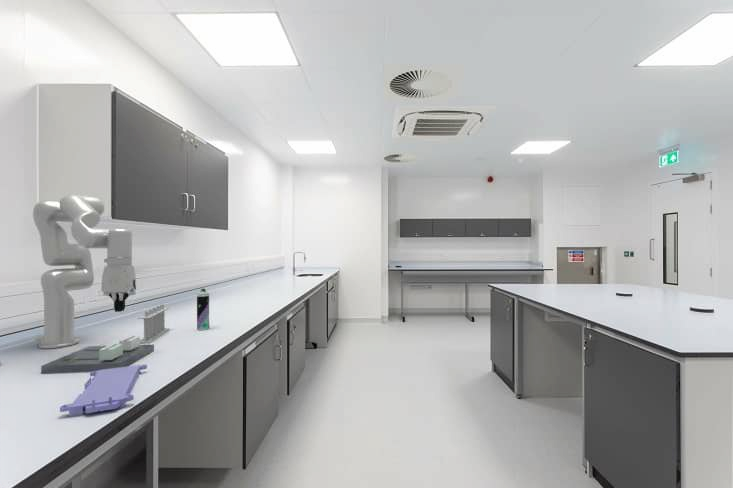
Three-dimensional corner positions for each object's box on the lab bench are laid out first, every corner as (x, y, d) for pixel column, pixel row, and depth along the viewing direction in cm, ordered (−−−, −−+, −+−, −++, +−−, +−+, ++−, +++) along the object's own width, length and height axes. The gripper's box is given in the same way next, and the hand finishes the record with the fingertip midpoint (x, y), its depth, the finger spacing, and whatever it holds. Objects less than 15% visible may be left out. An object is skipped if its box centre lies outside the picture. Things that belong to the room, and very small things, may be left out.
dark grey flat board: (41, 373, 114) (41, 365, 114) (88, 352, 135) (88, 346, 135) (120, 370, 116) (120, 362, 116) (154, 350, 138) (153, 344, 138)
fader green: (99, 360, 118) (99, 349, 118) (110, 354, 124) (110, 344, 124) (112, 359, 118) (112, 348, 118) (122, 354, 124) (122, 343, 124)
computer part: (55, 423, 82) (131, 410, 89) (55, 405, 82) (131, 393, 89) (91, 379, 109) (147, 372, 116) (91, 366, 109) (147, 359, 116)
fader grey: (119, 350, 129) (119, 340, 129) (128, 345, 135) (128, 336, 135) (130, 350, 129) (130, 340, 129) (139, 345, 135) (139, 335, 135)
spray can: (197, 330, 170) (197, 289, 170) (196, 328, 175) (196, 288, 175) (209, 329, 172) (209, 288, 173) (208, 327, 177) (208, 287, 177)
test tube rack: (149, 343, 149) (149, 312, 149) (137, 344, 148) (137, 312, 148) (169, 329, 173) (169, 302, 173) (159, 330, 172) (159, 303, 172)
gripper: (91, 262, 127) (91, 313, 127) (135, 262, 128) (135, 312, 128) (104, 261, 135) (104, 309, 134) (146, 261, 136) (146, 309, 136)
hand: (119, 311), depth 131 cm, fingers closed
